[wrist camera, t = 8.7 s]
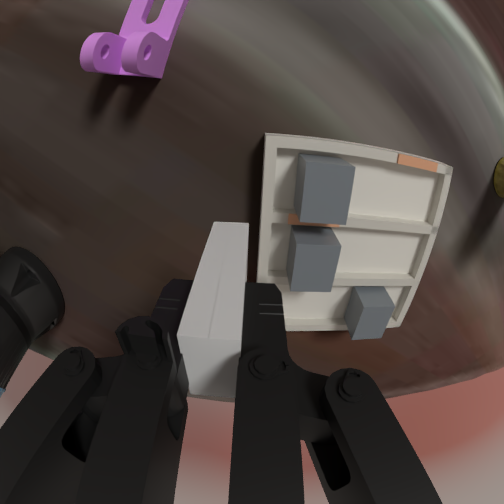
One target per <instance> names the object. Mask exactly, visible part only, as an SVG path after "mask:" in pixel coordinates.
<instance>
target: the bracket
mask: <svg viewBox="0 0 504 504" xmlns="http://www.w3.org/2000/svg"><path fill="white" fill-rule="evenodd" d="M153 1H154V0H132V2H131V4H130V7H129V9H128V12H127V14H126V17H125V19H124V22H123V25H122V28H121V31H120V33H119V36H118V35H116V34H114V33H111V32H103V33H94V34H92V35H90V36H89V37H88V38H87V39H86V40H85V42H84V44H83V46H82V49H81V53H80V63H81V66H82V68H83V69H84V70H85V71H89V72H98V73H105V74H112V75H129V76H142V77H152V78H161V79H162V75H163V72H164V68H165V65H166V62H167V58H168V55H169V52H170V49H171V46H172V43H173V40H174V37H175V34H176V31H177V29H178V26H179V23H180V20H181V18H182V15H183V13H184V10H185V8H186V5H187V3H188V0H165V2H164V5H163V7H162V10H161V12H160V15H159V17H158V19H157V20H156V21H155V22H153V23H151V24H146V19H147V16H148V14H149V11H150V9H151V6H152V4H153Z"/></svg>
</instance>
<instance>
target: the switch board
mask: <svg viewBox="0 0 504 504" xmlns="http://www.w3.org/2000/svg"><path fill="white" fill-rule="evenodd" d="M298 153H300V154H311V155H320V156H329V157H337V158H342V159H343V160H345V161H347V162H348V163H350V164H351V165H353V166H355V167H356V168H355V175H354V182H353V188H352V194H351V200H350V206H349V211H348V217H347V222H346V225H337V224H323V223H307V222H300V221H299V219H298V216H297V213H296V211H295V208H294V195H295V185H296V175H297V164H298ZM452 171H453V167H451V166H449V165H446V164H444V163H442V162H439V161H436V160H432V159H428V158H425V157H421V156H417V155H413V154H409V153H404V152H400V151H395V150H391V149H386V148H381V147H376V146H371V145H365V144H359V143H353V142H347V141H340V140H333V139H325V138H317V137H308V136H298V135H287V134H273V133H265V139H264V157H263V175H262V193H261V211H260V228H259V244H258V261H257V277H256V283H275V285H276V286H277V287H278V289H279V290H280V291H281V293H282V301H283V310H284V319H285V329H286V331H332V330H348V328H347V325H346V322H345V319H344V314H345V311H346V308H347V305H348V302H349V299H350V296H351V292H352V289H353V286H384V287H385V289H386V291H387V292H388V294H389V296H390V298H391V299H392V301H393V303H394V305H395V308H394V311H393V313H392V315H391V318H390V320H389V322H388V324H387V326H386V328H391V327H400V325H401V323H402V321H403V318H404V316H405V314H406V312H407V310H408V308H409V306H410V303H411V301H412V299H413V296H414V294H415V292H416V289H417V287H418V285H419V282H420V280H421V277H422V274H423V272H424V269H425V267H426V264H427V261H428V258H429V256H430V253H431V250H432V247H433V244H434V241H435V238H436V234H437V231H438V228H439V225H440V221H441V218H442V214H443V210H444V206H445V203H446V199H447V194H448V190H449V186H450V181H451V176H452ZM291 225H305V226H322V227H331V228H332V230H333V232H334V234H335V235H336V237H337V239H338V241H339V242H340V244H341V246H342V247H341V251H340V256H339V260H338V265H337V269H336V273H335V277H334V281H333V285H332V289H331V292H295V291H290V288H289V282H288V276H287V270H286V266H287V258H288V249H289V241H290V232H291Z"/></svg>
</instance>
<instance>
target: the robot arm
mask: <svg viewBox="0 0 504 504" xmlns="http://www.w3.org/2000/svg"><path fill="white" fill-rule="evenodd" d="M248 234H249V223H234V222H214V224H213V227H212V229H211V232H210V235H209V238H208V241H207V243H206V246H205V249H204V252H203V255H202V258H201V261H200V264H199V267H198V270H197V273H196V276H195V279H194V280H182V279H173V280H172V281H170V282H169V283H168V284H167V285H166V286H165V287H164V288H163V290H162V292H161V295H160V297H159V299H158V301H157V304H156V307H155V308H154V310H153V313H152V315H151V317H149V316H138V317H135V318H132V319H128V320H127V321H125V322H124V323H122V324H121V325H120V326H119V327H118V329H117V330H116V331H115V333H116V335H117V338H118V340H119V343H120V345H121V347H122V350H123V352H124V355H121V356H116V357H106V358H95V357H94V355H93V353H92V352H91V351H89V350H88V349H87V348H83V347H71V348H69V349H66V350H64V351H63V352H62V353H61V354H60V355H58V357H57V358H56V359H55V360H54V361H53V362H52V364H51V365H50V366H49V367H48V368H47V369H46V371H45V372H44V373H43V374H42V375H41V376H40V378H39V379H38V380H37V381H36V383H35V384H34V385H33V386H32V388H31V389H30V390H29V391H28V393H27V394H26V395H25V396H24V398H23V399H22V400H21V402H20V403H19V404H18V405H17V407H16V408H15V409H14V411H13V412H12V413H11V415H10V416H9V417H8V419H7V420H6V422H5V423H4V425H3V426H2V427H1V429H0V504H173V503H174V495H175V488H176V481H177V474H178V468H179V461H180V455H181V448H182V441H183V436H184V430H185V424H186V418H187V412H188V404H187V400H186V397H187V392H188V387H189V390H190V394H197V395H206V396H217V397H231V398H235V409H234V424H233V439H232V453H231V469H230V485H229V501H228V504H304V486H303V470H302V455H301V444H300V440H304V441H305V443H306V446H307V448H308V451H309V453H310V456H311V459H312V461H313V464H314V467H315V469H316V472H317V474H318V477H319V479H320V482H321V484H322V487H323V489H324V492H325V494H326V497H327V500H328V502H329V504H442V502H441V500H440V498H439V496H438V494H437V492H436V490H435V488H434V486H433V484H432V482H431V480H430V478H429V476H428V474H427V473H426V471H425V469H424V467H423V465H422V463H421V461H420V460H419V458H418V456H417V454H416V452H415V451H414V449H413V447H412V445H411V443H410V442H409V440H408V438H407V436H406V434H405V433H404V431H403V429H402V427H401V426H400V424H399V422H398V420H397V419H396V417H395V415H394V413H393V412H392V410H391V408H390V407H389V405H388V403H387V402H386V400H385V398H384V396H383V395H382V393H381V391H380V390H379V388H378V386H377V385H376V383H375V382H374V380H373V379H372V378H371V377H370V376H369V375H368V374H366V373H364V372H363V371H361V370H357V369H353V368H346V369H340V370H338V371H336V372H334V373H332V374H331V375H330V377H329V376H324V375H320V374H316V373H312V372H309V371H306V370H304V369H302V368H301V367H299V366H297V365H296V364H295V363H294V362H293V361H292V359H291V357H290V356H289V353H288V348H287V338H286V329H285V319H284V310H283V301H282V293H281V291H280V290H279V289H278V287H277V286H276V285H275V283H252V282H246V281H247V258H248ZM63 314H64V300H63V296H62V293H61V291H60V288H59V286H58V284H57V282H56V281H55V279H54V277H53V276H52V274H51V273H50V271H49V270H48V269H47V268H46V266H45V265H44V264H43V263H42V262H41V261H40V260H39V259H38V258H37V257H36V256H35V255H33V254H32V253H31V252H29V251H27V250H26V249H23V248H20V247H12V248H10V249H8V250H7V251H6V252H5V253H4V254H3V255H2V256H1V257H0V397H1V395H2V394H3V392H5V390H6V389H5V388H6V386H7V384H8V382H9V381H10V378H11V377H12V375H13V373H14V371H15V370H16V368H17V366H18V365H19V363H20V361H21V360H22V358H23V356H24V354H25V352H26V351H27V350H28V348H29V346H30V345H31V343H32V342H33V341H34V340H36V339H37V338H39V337H40V336H42V335H43V334H45V333H46V332H47V331H49V330H50V329H52V328H53V327H55V326H56V325H57V323H58V322H59V320H60V319H61V318H62V316H63Z"/></svg>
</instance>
